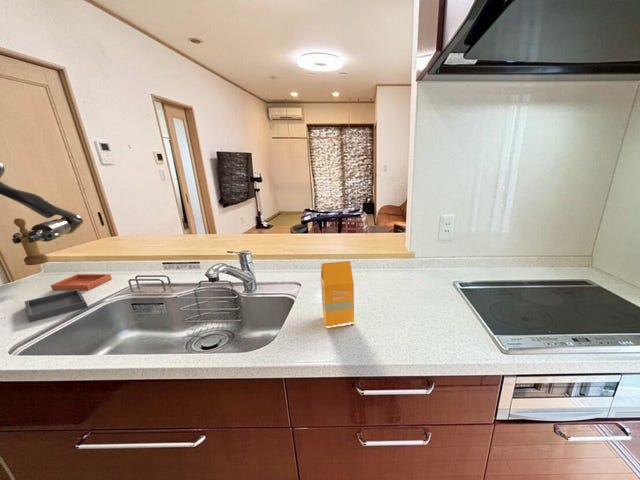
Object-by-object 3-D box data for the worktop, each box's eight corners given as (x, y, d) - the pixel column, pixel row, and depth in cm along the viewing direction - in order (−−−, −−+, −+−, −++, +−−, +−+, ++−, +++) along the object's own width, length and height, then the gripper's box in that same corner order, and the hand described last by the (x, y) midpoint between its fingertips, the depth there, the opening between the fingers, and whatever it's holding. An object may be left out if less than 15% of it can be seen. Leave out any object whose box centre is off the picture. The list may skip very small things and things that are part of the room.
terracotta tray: (52, 290, 113) (50, 285, 113) (79, 278, 124) (77, 274, 123) (88, 290, 114) (86, 285, 113) (112, 278, 124) (110, 274, 124)
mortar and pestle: (49, 259, 124) (31, 216, 117) (49, 262, 120) (30, 218, 113) (26, 262, 120) (6, 218, 113) (25, 266, 115) (4, 221, 109)
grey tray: (27, 306, 101) (24, 301, 100) (80, 294, 111) (78, 288, 110) (30, 322, 92) (27, 316, 91) (87, 307, 101) (85, 301, 100)
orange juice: (354, 325, 92) (353, 265, 85) (326, 329, 90) (323, 267, 82) (348, 313, 99) (347, 257, 92) (322, 316, 97) (319, 259, 89)
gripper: (23, 223, 125) (-8, 232, 110) (66, 221, 129) (42, 229, 114) (31, 240, 127) (2, 251, 113) (72, 237, 132) (49, 248, 117)
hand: (22, 240), depth 114 cm, fingers closed on mortar and pestle, 4 cm apart
